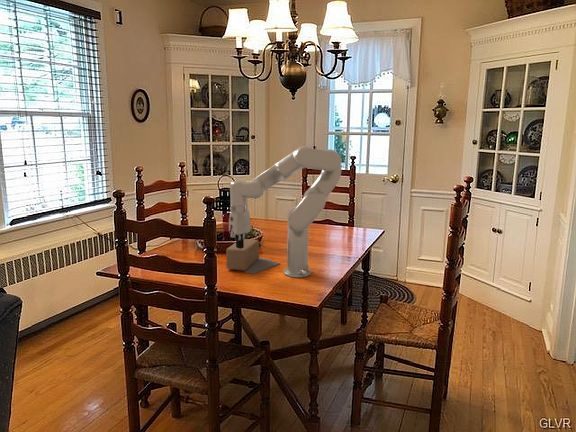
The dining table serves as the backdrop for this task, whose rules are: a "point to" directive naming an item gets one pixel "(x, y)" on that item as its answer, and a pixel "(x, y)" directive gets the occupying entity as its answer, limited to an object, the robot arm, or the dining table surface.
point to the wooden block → (242, 255)
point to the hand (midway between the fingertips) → (239, 247)
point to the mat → (260, 266)
